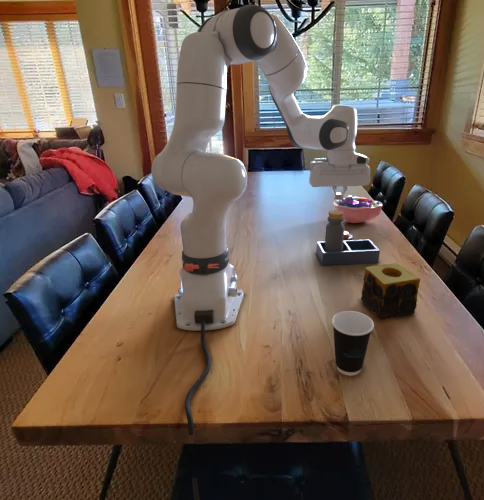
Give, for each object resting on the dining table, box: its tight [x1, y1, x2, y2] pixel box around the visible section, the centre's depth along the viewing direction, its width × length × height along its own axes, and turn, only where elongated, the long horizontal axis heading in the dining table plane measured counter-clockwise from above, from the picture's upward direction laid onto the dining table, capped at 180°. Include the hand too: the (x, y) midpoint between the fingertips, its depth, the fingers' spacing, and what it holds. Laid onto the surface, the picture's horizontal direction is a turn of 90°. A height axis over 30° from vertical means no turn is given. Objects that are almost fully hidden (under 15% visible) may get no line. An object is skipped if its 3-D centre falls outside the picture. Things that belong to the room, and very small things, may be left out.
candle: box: [360, 262, 421, 321], centre depth 94 cm, size 10×10×10 cm
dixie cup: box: [331, 310, 375, 377], centre depth 74 cm, size 8×8×11 cm
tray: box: [316, 238, 381, 266], centre depth 123 cm, size 10×18×4 cm, turn 95°
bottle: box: [324, 209, 345, 252], centre depth 121 cm, size 6×6×15 cm
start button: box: [344, 230, 350, 238], centre depth 134 cm, size 4×4×2 cm
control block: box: [343, 233, 354, 241], centre depth 135 cm, size 10×8×3 cm
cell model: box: [332, 195, 383, 224], centre depth 155 cm, size 17×20×11 cm
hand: (338, 198), depth 128 cm, fingers closed
